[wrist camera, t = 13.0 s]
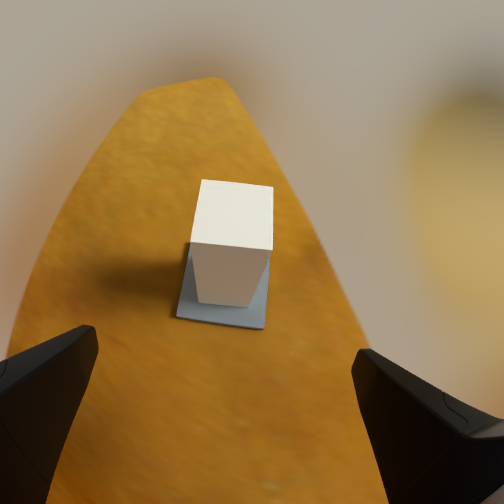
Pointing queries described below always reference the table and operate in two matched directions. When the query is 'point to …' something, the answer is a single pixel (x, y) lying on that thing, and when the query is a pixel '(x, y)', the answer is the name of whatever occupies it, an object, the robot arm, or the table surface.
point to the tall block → (231, 241)
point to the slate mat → (222, 313)
